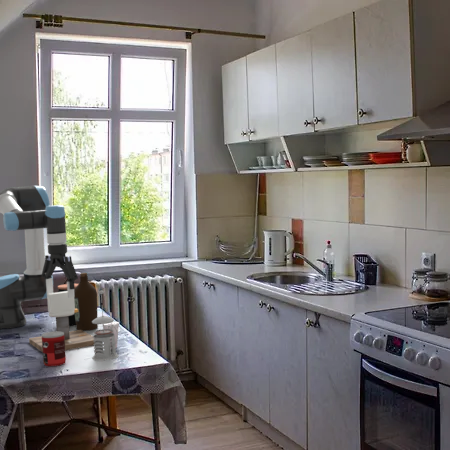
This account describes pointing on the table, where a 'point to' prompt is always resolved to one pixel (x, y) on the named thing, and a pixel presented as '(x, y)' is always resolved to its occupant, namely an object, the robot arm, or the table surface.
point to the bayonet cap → (60, 304)
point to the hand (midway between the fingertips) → (60, 295)
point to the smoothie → (113, 329)
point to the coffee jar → (72, 317)
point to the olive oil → (85, 304)
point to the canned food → (53, 348)
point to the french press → (104, 339)
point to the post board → (72, 338)
